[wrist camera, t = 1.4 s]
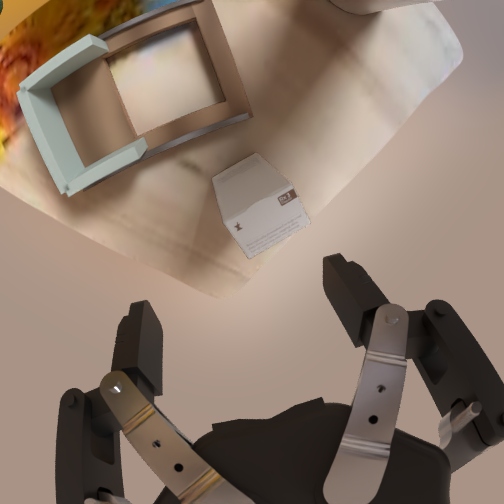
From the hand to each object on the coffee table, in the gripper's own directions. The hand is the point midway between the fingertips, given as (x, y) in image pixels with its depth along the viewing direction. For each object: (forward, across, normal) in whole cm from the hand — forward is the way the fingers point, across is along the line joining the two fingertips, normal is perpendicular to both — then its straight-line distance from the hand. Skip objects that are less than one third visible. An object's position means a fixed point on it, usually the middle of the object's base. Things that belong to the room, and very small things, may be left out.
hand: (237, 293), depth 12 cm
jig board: (+21, +6, -10) cm, 24 cm away
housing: (+19, +11, -10) cm, 24 cm away
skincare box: (+21, -3, +2) cm, 22 cm away
